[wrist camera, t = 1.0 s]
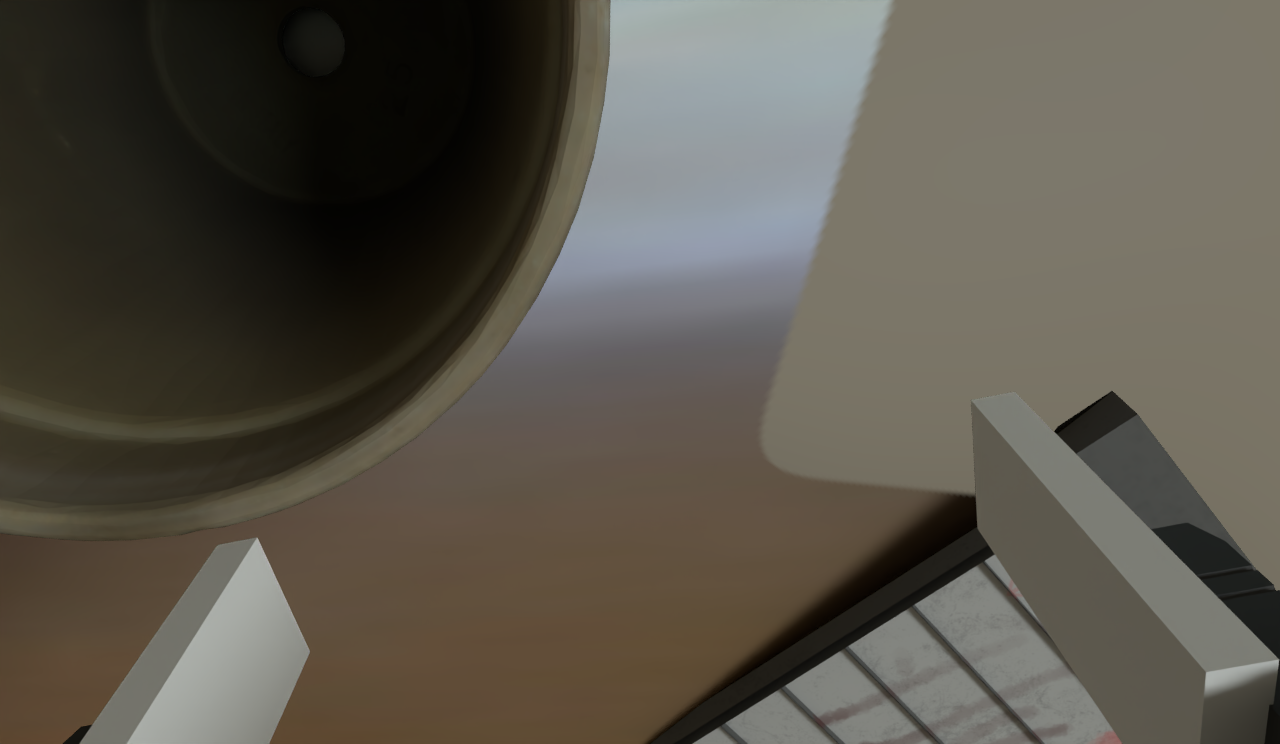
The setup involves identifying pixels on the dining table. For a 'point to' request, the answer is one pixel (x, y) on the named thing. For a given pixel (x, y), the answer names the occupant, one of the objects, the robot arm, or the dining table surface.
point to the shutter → (951, 636)
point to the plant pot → (266, 241)
